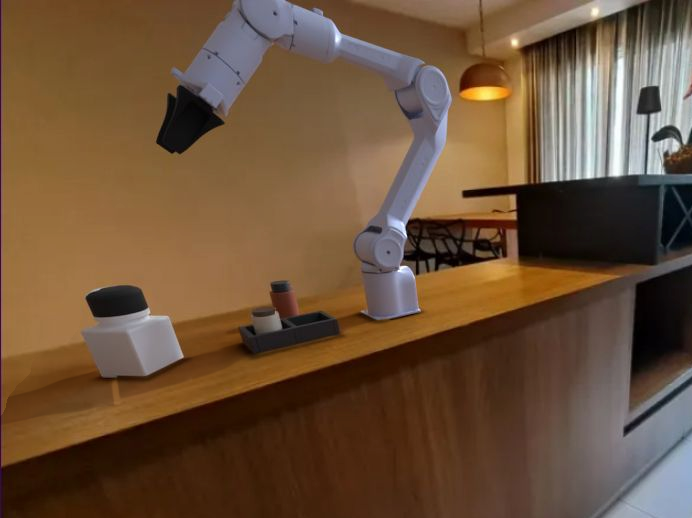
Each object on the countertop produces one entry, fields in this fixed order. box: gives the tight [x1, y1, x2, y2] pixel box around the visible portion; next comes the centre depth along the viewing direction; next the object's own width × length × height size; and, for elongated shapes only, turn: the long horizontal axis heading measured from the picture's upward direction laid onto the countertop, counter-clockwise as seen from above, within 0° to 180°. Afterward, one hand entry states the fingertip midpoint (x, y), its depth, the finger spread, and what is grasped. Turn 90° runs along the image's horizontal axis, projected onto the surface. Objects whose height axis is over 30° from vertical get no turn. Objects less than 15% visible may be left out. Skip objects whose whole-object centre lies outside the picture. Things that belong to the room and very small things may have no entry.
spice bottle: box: [269, 280, 301, 319], centre depth 83 cm, size 4×4×8 cm
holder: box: [238, 310, 341, 355], centre depth 74 cm, size 14×7×3 cm, turn 132°
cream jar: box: [250, 305, 283, 335], centre depth 71 cm, size 4×4×6 cm
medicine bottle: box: [80, 284, 185, 379], centre depth 62 cm, size 7×7×12 cm
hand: (167, 148), depth 60 cm, fingers open, 7 cm apart
